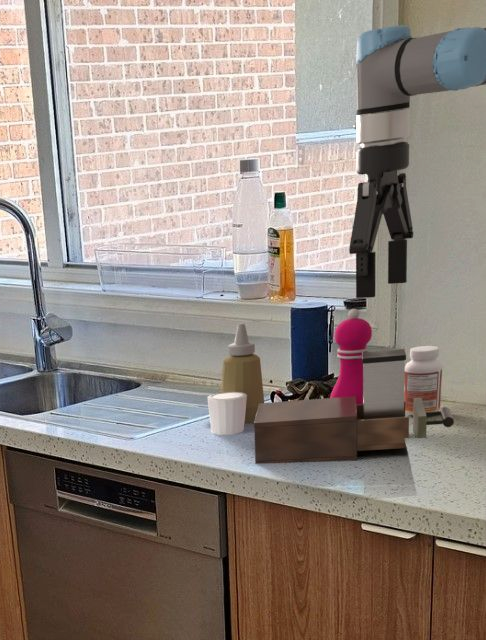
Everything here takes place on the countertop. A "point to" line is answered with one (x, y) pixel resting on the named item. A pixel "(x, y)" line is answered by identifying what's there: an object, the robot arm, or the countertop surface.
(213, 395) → the white tapered cup
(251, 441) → the countertop surface
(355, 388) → the pepper mill
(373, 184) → the robot arm
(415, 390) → the pill bottle
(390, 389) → the white rectangular block
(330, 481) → the countertop surface
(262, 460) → the cabinet
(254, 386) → the squeeze bottle
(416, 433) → the drawer
